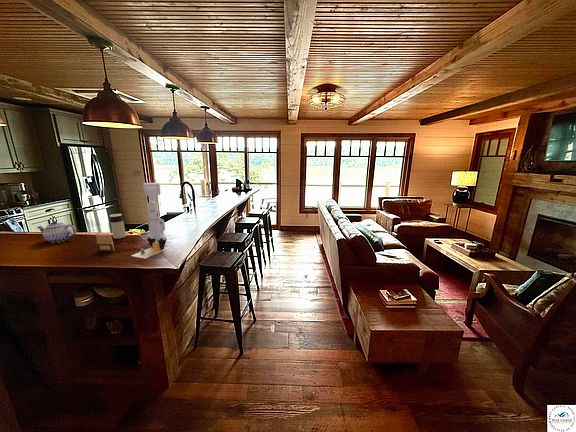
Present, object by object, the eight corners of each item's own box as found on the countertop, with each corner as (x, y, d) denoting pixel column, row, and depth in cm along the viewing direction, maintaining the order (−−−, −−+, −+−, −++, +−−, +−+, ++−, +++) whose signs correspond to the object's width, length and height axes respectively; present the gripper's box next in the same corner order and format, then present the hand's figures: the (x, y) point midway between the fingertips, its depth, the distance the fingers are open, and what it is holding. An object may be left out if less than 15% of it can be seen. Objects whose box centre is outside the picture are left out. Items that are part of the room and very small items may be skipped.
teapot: (85, 236, 178) (81, 218, 175) (68, 243, 163) (63, 224, 160) (51, 237, 177) (46, 218, 173) (31, 244, 162) (25, 224, 158)
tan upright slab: (115, 250, 153) (112, 233, 150) (113, 251, 151) (110, 234, 148) (100, 249, 154) (96, 233, 151) (98, 251, 152) (94, 234, 149)
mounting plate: (131, 257, 142) (129, 250, 141) (155, 247, 159) (154, 240, 157) (145, 260, 138) (144, 253, 137) (169, 249, 155) (168, 242, 154)
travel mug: (127, 235, 183) (124, 213, 178) (122, 238, 175) (118, 216, 170) (117, 235, 181) (112, 213, 177) (111, 239, 174) (106, 216, 169)
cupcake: (151, 250, 149) (150, 243, 148) (158, 247, 154) (157, 240, 153) (157, 251, 148) (156, 244, 147) (164, 248, 153) (163, 241, 152)
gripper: (141, 229, 146) (144, 249, 149) (158, 232, 142) (161, 252, 145) (150, 226, 153) (153, 245, 156) (167, 229, 148) (170, 248, 152)
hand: (158, 248), depth 151 cm, fingers open, 7 cm apart
